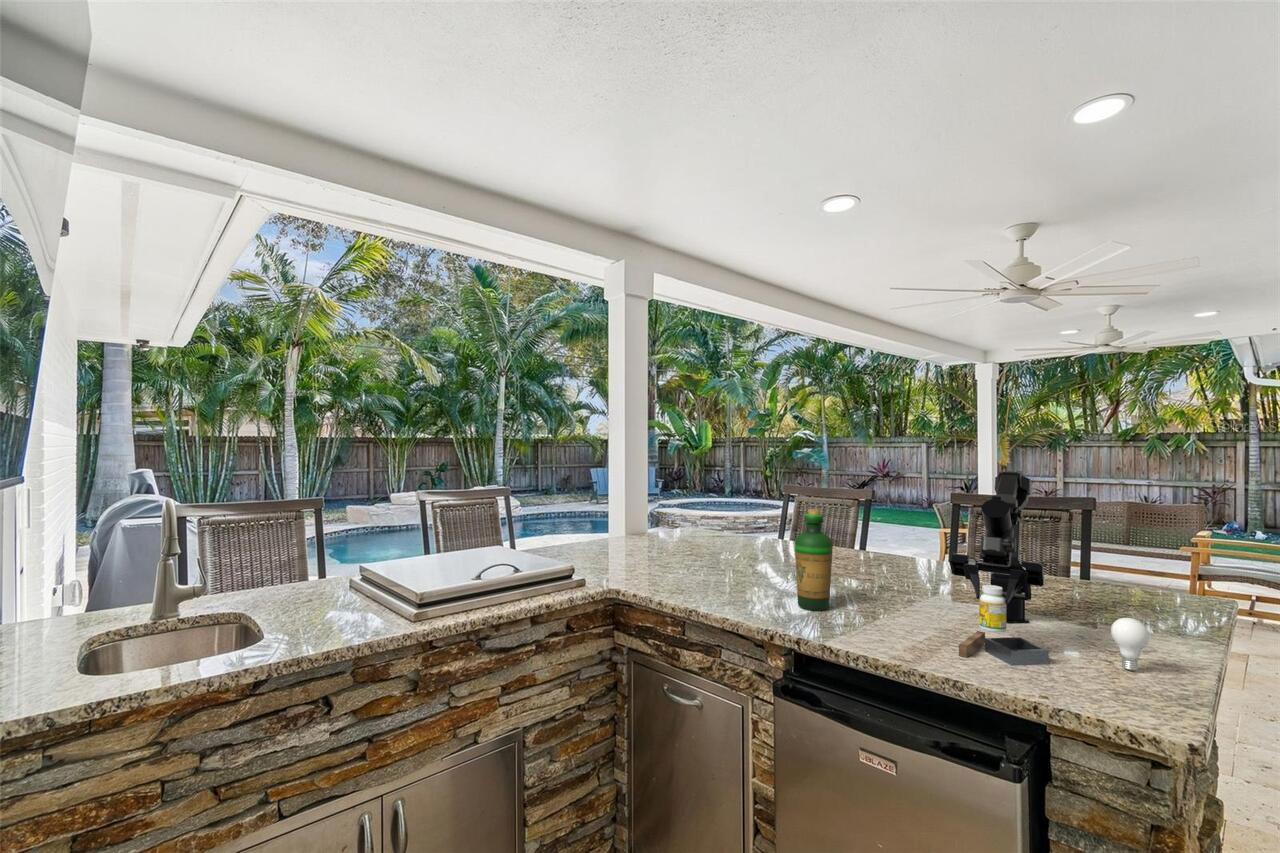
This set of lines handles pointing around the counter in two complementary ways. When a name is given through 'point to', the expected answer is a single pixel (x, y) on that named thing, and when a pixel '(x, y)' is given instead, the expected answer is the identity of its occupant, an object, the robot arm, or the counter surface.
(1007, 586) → the robot arm
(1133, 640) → the lightbulb
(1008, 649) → the metal pocket
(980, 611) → the supplement bottle
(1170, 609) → the counter surface
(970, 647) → the brown wooden bar
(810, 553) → the bottle
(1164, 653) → the counter surface
